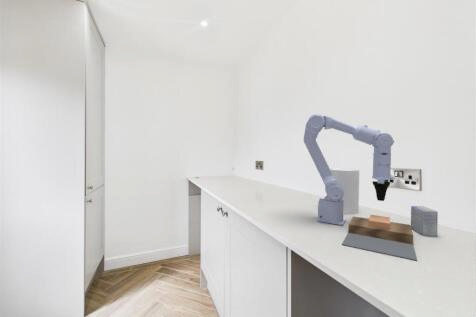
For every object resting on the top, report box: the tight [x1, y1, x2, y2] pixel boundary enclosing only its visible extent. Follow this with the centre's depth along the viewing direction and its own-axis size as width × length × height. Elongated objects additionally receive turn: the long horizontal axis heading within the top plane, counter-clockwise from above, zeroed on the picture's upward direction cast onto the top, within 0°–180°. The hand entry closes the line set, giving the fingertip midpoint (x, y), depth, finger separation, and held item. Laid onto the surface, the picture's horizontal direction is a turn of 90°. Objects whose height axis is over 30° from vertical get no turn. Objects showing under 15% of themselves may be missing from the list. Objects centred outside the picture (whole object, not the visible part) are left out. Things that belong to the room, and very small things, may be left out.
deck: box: [347, 216, 414, 246], centre depth 80 cm, size 18×12×3 cm, turn 56°
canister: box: [330, 168, 360, 215], centre depth 111 cm, size 14×14×20 cm
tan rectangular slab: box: [368, 214, 391, 230], centre depth 80 cm, size 6×9×2 cm, turn 147°
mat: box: [341, 232, 418, 262], centre depth 69 cm, size 18×12×1 cm, turn 56°
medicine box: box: [410, 205, 439, 238], centre depth 81 cm, size 8×4×9 cm, turn 168°
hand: (380, 200), depth 88 cm, fingers closed
